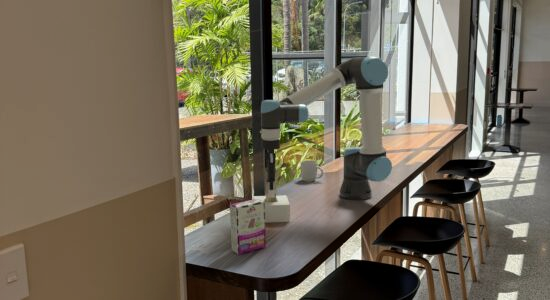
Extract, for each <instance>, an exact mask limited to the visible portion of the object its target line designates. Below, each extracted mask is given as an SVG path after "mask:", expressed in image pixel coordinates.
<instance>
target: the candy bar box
mask: <svg viewBox="0 0 550 300" xmlns="http://www.w3.org/2000/svg"><path fill="white" fill-rule="evenodd" d="M229 211H230V212H229V213H230V215H229V217H230V219H229V220H230V238H231V239H230V242H231V251H232V252H233V253H235V254H237V255H243V254H247V253H250V252H251V253H252V252H254V251H257V250H258V251H259V250H262V249H265V248H266V247H267V245H266V244H267V243H266V242H267V241H266V239H267V238H266V237H267V236H266V222H265V202H264V201H262V200H259V199H254V200H253V199H251V200H250V199H249V200H245V201H240V202H235V203H231V204H229Z"/></svg>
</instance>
